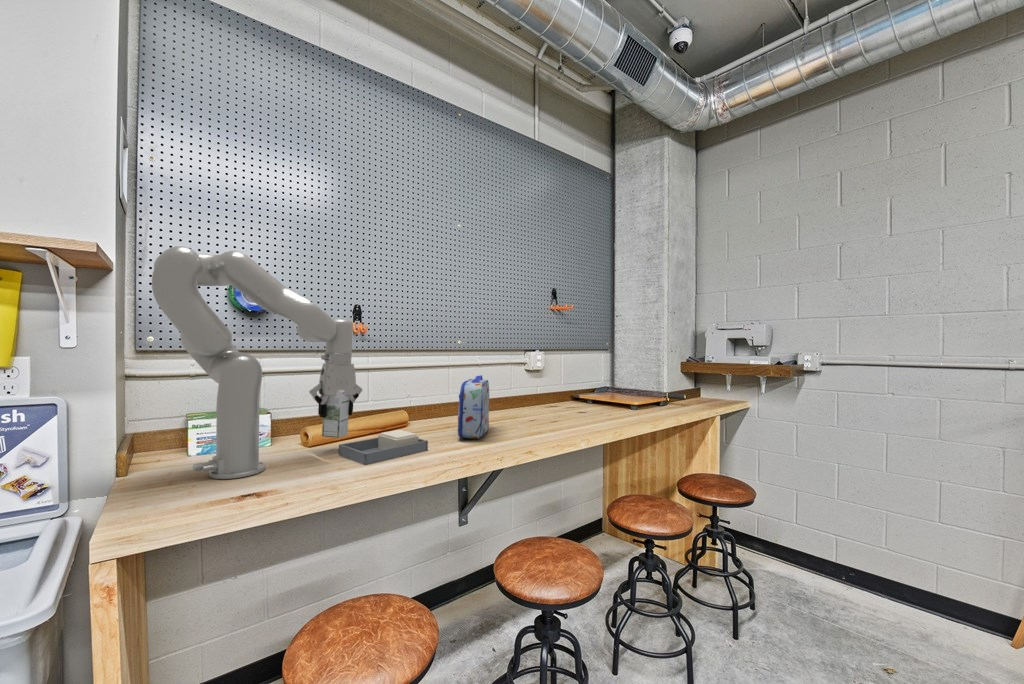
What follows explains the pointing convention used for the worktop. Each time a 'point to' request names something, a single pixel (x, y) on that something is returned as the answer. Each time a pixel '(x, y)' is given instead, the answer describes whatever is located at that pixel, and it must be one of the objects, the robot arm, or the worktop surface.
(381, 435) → the white lidded box
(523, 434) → the worktop surface
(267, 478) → the worktop surface
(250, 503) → the worktop surface
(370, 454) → the tray
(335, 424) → the syrup box
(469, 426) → the lunch box
